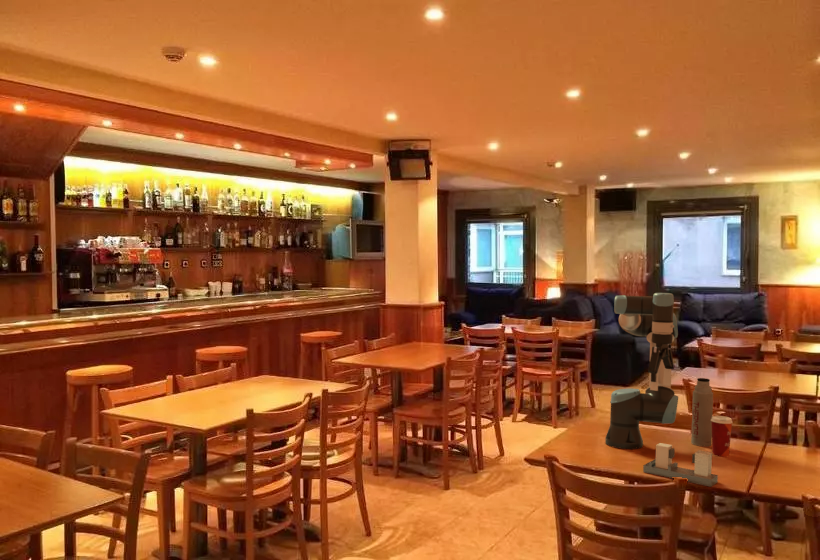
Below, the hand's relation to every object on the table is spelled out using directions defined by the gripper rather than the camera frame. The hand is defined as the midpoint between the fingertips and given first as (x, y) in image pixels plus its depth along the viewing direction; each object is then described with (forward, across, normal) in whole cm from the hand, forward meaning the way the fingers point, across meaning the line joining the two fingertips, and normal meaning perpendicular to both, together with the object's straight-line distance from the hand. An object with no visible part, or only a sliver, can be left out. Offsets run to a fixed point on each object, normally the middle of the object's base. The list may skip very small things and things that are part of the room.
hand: (660, 387), depth 269 cm
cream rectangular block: (+26, -14, -7) cm, 31 cm away
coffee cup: (+29, +27, -15) cm, 42 cm away
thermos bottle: (+29, +38, -4) cm, 48 cm away
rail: (+29, -14, -13) cm, 34 cm away
